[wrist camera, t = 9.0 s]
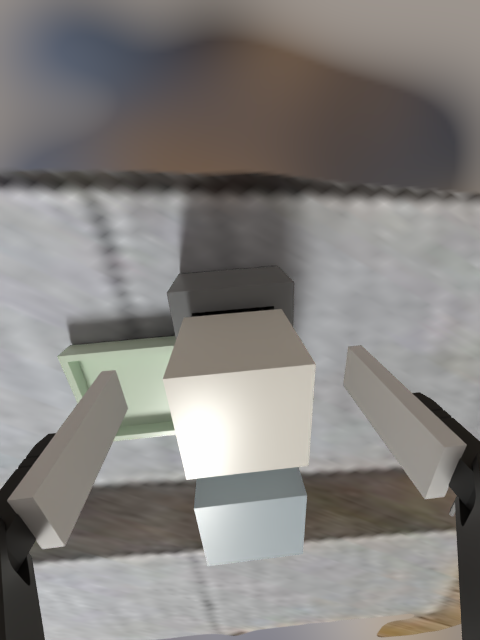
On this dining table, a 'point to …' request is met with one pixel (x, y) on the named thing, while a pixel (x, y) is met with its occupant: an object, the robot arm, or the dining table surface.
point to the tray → (127, 380)
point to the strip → (230, 292)
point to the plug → (240, 393)
